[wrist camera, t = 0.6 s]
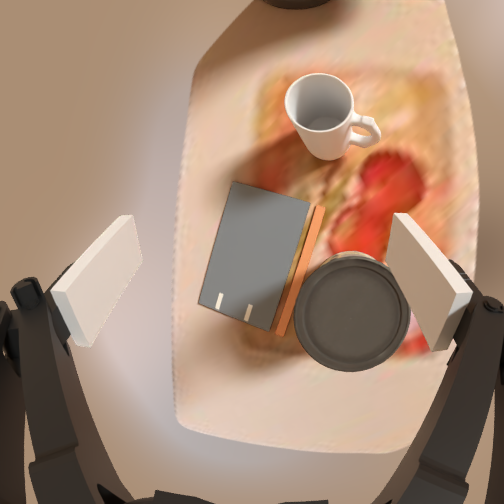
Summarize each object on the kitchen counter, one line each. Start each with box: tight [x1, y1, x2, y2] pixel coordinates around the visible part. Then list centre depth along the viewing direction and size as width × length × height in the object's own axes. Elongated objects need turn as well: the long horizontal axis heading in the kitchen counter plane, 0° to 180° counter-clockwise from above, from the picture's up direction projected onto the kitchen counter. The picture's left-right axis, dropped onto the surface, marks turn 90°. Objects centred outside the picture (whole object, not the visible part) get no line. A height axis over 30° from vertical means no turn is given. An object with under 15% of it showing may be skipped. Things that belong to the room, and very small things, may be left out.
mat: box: [199, 181, 310, 332], centre depth 42 cm, size 18×11×1 cm, turn 162°
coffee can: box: [294, 251, 411, 372], centre depth 31 cm, size 10×10×14 cm
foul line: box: [275, 205, 326, 337], centre depth 40 cm, size 18×1×1 cm, turn 162°
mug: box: [285, 73, 381, 160], centre depth 32 cm, size 10×7×12 cm, turn 69°
